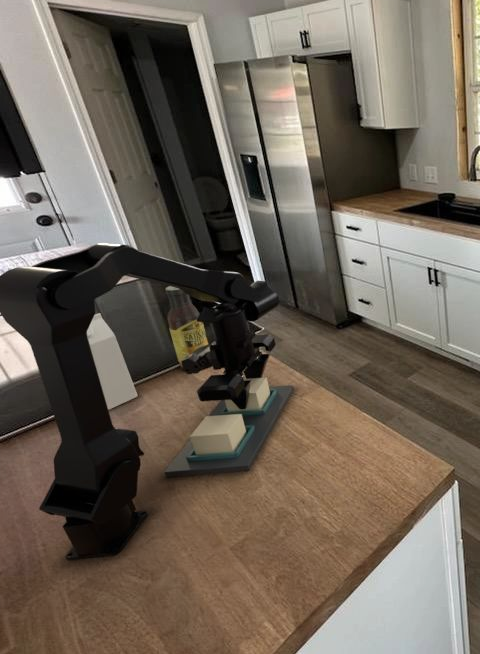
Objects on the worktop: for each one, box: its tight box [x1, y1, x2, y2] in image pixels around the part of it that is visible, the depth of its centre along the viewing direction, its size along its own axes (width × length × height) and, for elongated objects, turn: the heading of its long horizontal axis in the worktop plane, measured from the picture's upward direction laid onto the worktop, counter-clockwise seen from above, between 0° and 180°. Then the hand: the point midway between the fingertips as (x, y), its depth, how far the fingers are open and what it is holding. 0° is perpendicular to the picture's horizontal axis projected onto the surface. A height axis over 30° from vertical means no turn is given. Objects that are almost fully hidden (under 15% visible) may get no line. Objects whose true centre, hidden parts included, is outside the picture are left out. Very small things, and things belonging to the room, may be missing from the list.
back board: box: [163, 384, 295, 478], centre depth 79 cm, size 22×13×2 cm, turn 8°
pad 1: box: [189, 414, 246, 455], centre depth 73 cm, size 5×6×4 cm
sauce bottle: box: [164, 286, 209, 368], centre depth 95 cm, size 7×6×20 cm
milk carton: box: [87, 313, 139, 411], centre depth 82 cm, size 7×7×19 cm
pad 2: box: [225, 377, 270, 412], centre depth 83 cm, size 5×6×4 cm
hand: (249, 399), depth 84 cm, fingers closed on pad 2, 5 cm apart
